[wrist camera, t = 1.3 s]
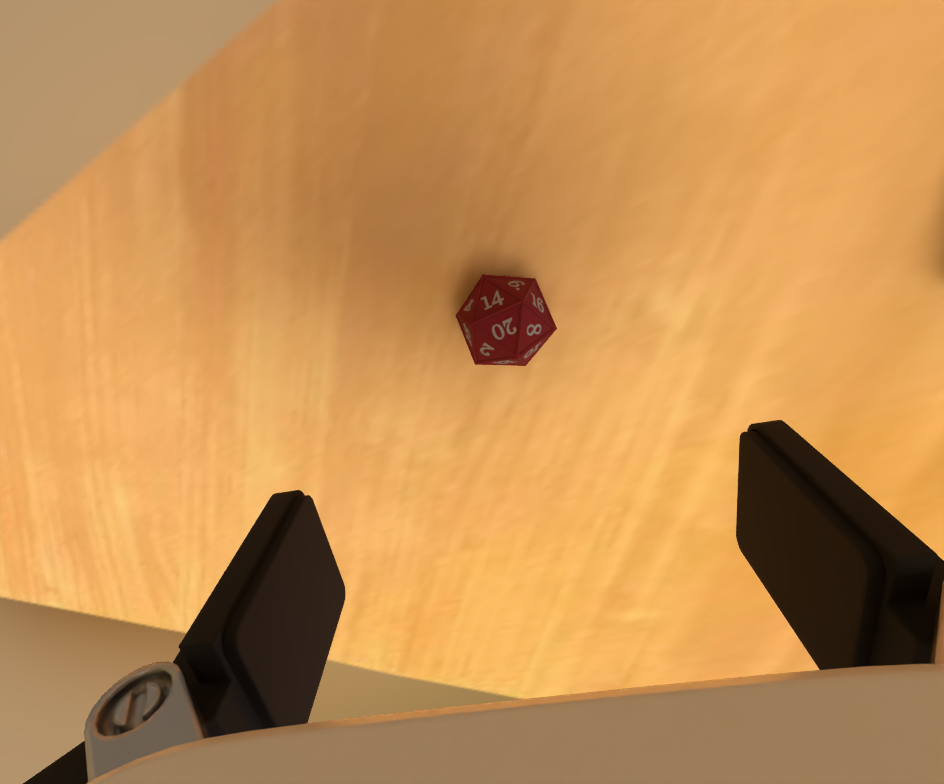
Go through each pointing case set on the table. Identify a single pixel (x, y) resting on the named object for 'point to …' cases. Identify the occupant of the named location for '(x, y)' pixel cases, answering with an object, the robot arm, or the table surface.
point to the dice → (505, 320)
